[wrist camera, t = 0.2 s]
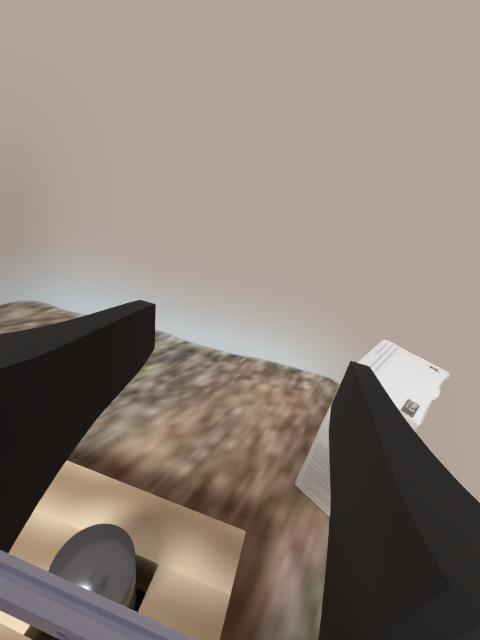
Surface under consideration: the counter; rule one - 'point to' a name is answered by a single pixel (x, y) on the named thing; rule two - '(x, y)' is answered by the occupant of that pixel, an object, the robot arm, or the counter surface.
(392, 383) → the skincare box
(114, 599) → the steel peg
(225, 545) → the maple peg block
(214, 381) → the counter surface
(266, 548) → the counter surface
